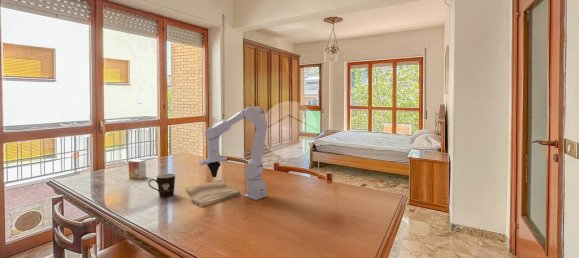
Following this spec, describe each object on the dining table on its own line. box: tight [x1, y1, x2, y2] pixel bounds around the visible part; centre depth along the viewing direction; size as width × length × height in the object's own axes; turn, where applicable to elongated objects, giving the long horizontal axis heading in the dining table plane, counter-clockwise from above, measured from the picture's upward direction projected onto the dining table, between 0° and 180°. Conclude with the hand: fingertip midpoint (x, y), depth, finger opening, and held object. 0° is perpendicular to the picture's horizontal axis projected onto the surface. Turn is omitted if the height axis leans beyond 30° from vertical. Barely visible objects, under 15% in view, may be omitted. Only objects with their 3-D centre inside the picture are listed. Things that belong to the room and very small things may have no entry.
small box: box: [128, 159, 147, 180], centre depth 179 cm, size 8×6×10 cm
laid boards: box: [192, 188, 242, 208], centre depth 140 cm, size 7×22×2 cm, turn 137°
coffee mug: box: [147, 173, 176, 198], centre depth 145 cm, size 12×9×10 cm
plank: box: [185, 179, 230, 201], centre depth 145 cm, size 8×20×2 cm
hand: (214, 176), depth 151 cm, fingers closed
